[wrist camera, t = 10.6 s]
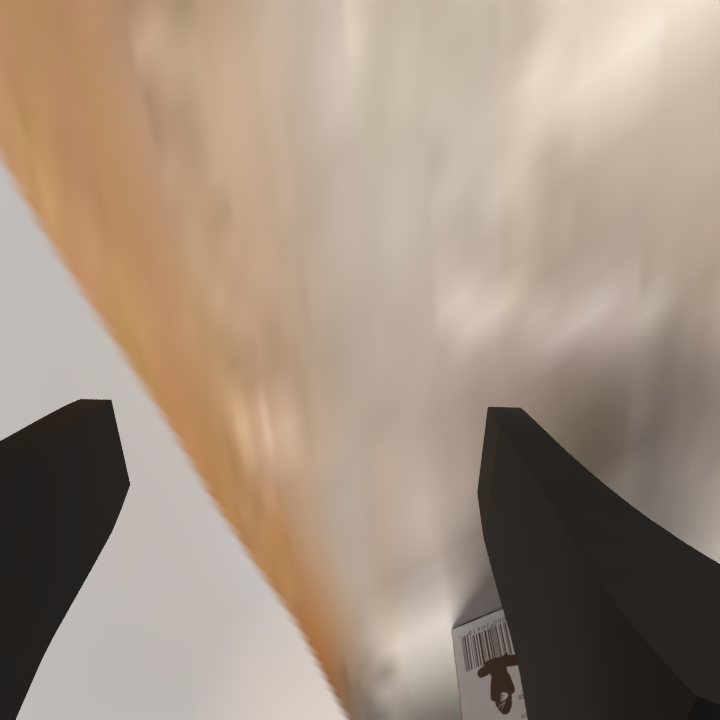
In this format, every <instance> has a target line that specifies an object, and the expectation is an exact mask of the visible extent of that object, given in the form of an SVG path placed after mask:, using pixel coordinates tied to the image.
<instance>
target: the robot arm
mask: <svg viewBox="0 0 720 720" xmlns="http://www.w3.org/2000/svg"><path fill="white" fill-rule="evenodd" d="M129 486H130V482H129V477H128V473H127V468H126V464H125V459H124V455H123V450H122V446H121V442H120V437H119V432H118V428H117V424H116V419H115V414H114V410H113V405H112V401H111V400H93V399H80V400H77V401H75V402H73V403H70V404H68V405H66V406H64V407H62V408H60V409H58V410H56V411H54V412H52V413H50V414H49V415H47V416H45V417H43V418H41V419H39V420H38V421H36V422H34V423H32V424H30V425H29V426H27V427H25V428H23V429H21V430H20V431H18V432H16V433H14V434H12V435H11V436H9V437H7V438H5V439H4V440H1V441H0V720H16V717H17V715H18V713H19V710H20V708H21V706H22V703H23V701H24V699H25V697H26V694H27V692H28V690H29V687H30V685H31V683H32V681H33V678H34V676H35V674H36V671H37V669H38V667H39V665H40V662H41V660H42V658H43V656H44V654H45V652H46V650H47V648H48V646H49V644H50V642H51V640H52V638H53V636H54V635H55V633H56V631H57V629H58V627H59V626H60V624H61V622H62V620H63V618H64V617H65V615H66V613H67V611H68V610H69V608H70V606H71V604H72V603H73V601H74V599H75V597H76V596H77V594H78V592H79V590H80V588H81V587H82V585H83V583H84V581H85V580H86V578H87V576H88V574H89V572H90V571H91V569H92V567H93V565H94V563H95V562H96V560H97V558H98V556H99V554H100V552H101V551H102V549H103V547H104V545H105V543H106V542H107V540H108V538H109V536H110V534H111V532H112V530H113V528H114V526H115V523H116V521H117V518H118V516H119V513H120V511H121V508H122V505H123V503H124V500H125V497H126V495H127V492H128V489H129ZM478 500H479V508H480V515H481V522H482V529H483V536H484V541H485V545H486V549H487V553H488V556H489V560H490V564H491V567H492V571H493V575H494V578H495V582H496V586H497V589H498V593H499V597H500V600H501V604H502V607H503V611H504V615H505V618H506V622H507V625H508V629H509V633H510V636H511V640H512V644H513V647H514V651H515V656H516V660H517V664H518V669H519V673H520V678H521V684H522V690H523V696H524V701H525V707H526V713H527V719H528V720H720V564H719V563H717V562H715V561H714V560H712V559H710V558H709V557H707V556H705V555H704V554H702V553H700V552H699V551H697V550H696V549H694V548H692V547H691V546H689V545H687V544H686V543H684V542H683V541H681V540H680V539H678V538H677V537H675V536H674V535H672V534H671V533H669V532H668V531H667V530H665V529H664V528H662V527H661V526H659V525H658V524H656V523H655V522H653V521H652V520H650V519H649V518H647V517H646V516H645V515H643V514H642V513H641V512H639V511H638V510H637V509H635V508H634V507H632V506H631V505H630V504H629V503H627V502H626V501H625V500H624V499H622V498H621V497H620V496H618V495H617V494H616V493H615V492H613V491H612V490H611V489H610V488H608V487H607V486H606V485H605V484H603V483H602V482H601V481H600V480H599V479H597V478H596V477H595V476H594V475H593V474H592V473H590V472H589V471H588V470H587V469H586V468H585V467H584V466H582V465H581V464H580V463H579V462H578V461H577V460H576V459H575V458H573V457H572V456H571V455H570V454H569V453H568V452H567V451H566V450H565V449H564V448H563V447H562V446H560V445H559V444H558V443H557V442H556V441H555V440H554V439H553V438H552V437H551V436H550V435H549V434H548V433H547V432H546V431H545V430H544V429H543V428H542V427H541V426H540V425H538V424H537V423H536V422H535V421H534V420H533V419H532V418H531V417H530V416H529V415H528V414H527V413H526V412H525V411H524V410H523V409H521V408H509V407H488V411H487V419H486V427H485V435H484V443H483V452H482V460H481V468H480V476H479V484H478Z"/></svg>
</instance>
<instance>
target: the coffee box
mask: <svg viewBox="0 0 720 720" xmlns="http://www.w3.org/2000/svg"><path fill="white" fill-rule="evenodd" d="M452 638H453V647H454V656H455V663H456V672H457V680H458V688H459V697H460V706H461V715H462V720H528V719H527V713H526V707H525V701H524V696H523V690H522V684H521V678H520V673H519V669H518V664H517V660H516V656H515V651H514V647H513V644H512V640H511V636H510V633H509V629H508V625H507V622H506V618H505V615H504V611H503V609H501V610H499V611H496V612H494V613H491V614H489V615H486V616H484V617H481V618H479V619H477V620H474V621H472V622H469V623H467V624H464V625H462V626H459V627H457V628H454V629H453V630H452Z"/></svg>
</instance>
